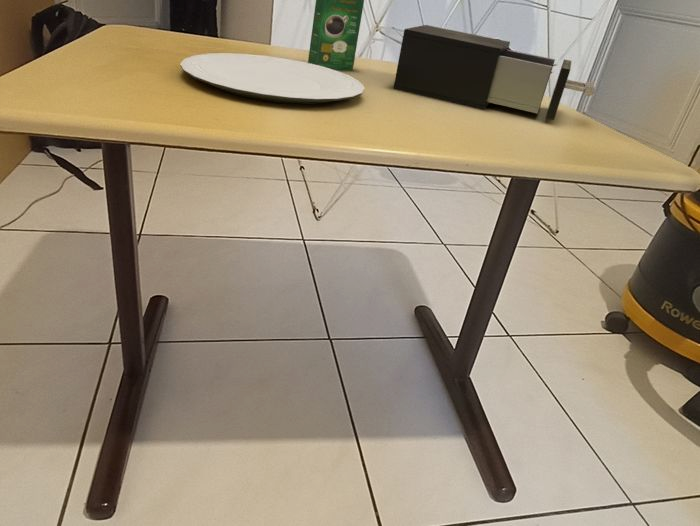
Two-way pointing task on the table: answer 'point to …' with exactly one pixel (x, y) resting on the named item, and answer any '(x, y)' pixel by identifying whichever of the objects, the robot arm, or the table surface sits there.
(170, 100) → the table surface
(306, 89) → the plate
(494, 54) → the black drawer box
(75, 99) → the table surface
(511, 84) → the grey box with handle
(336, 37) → the coffee box
